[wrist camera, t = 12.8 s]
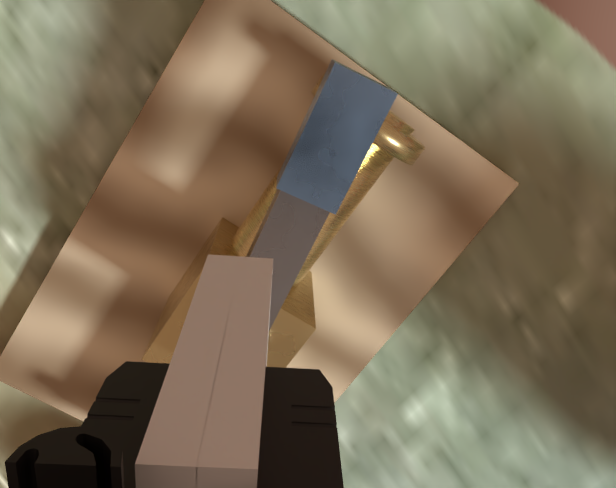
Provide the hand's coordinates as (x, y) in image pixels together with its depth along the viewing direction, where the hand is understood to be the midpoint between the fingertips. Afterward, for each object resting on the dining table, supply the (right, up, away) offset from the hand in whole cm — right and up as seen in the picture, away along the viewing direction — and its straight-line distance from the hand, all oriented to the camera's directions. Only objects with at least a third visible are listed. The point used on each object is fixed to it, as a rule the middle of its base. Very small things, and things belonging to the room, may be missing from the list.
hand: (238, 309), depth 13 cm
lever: (0, +2, +16) cm, 16 cm away
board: (-3, -1, +27) cm, 27 cm away
